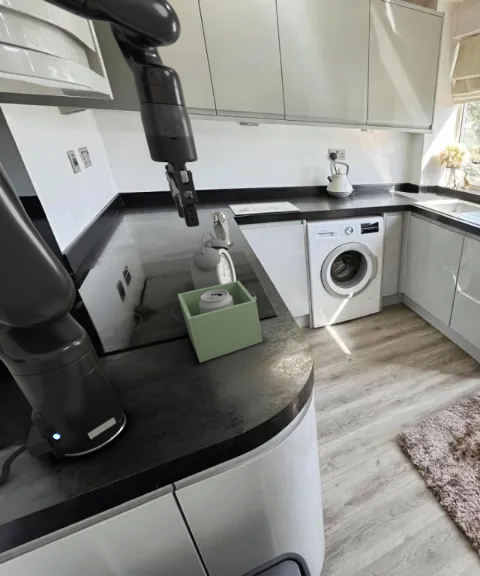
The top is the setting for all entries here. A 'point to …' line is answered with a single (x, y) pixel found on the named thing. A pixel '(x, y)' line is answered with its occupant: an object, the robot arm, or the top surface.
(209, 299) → the can
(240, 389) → the top surface
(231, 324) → the bin
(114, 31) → the robot arm
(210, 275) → the alarm clock
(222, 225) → the silver grey upright ornament
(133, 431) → the top surface
